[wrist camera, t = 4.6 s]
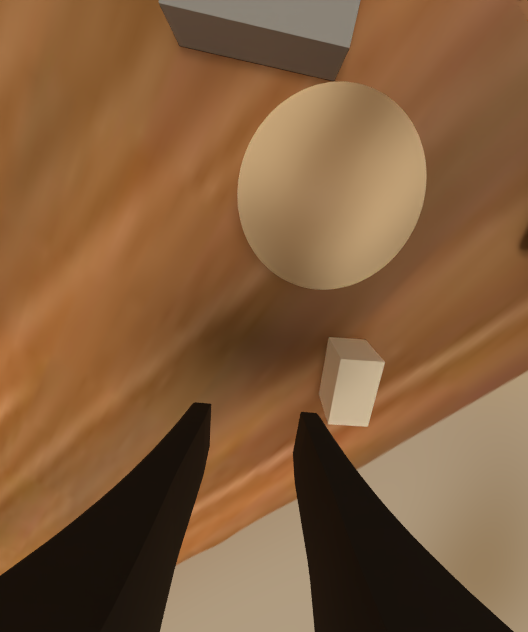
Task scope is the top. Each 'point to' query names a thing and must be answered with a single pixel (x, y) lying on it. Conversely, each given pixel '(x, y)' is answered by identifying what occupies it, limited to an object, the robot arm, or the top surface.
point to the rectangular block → (350, 381)
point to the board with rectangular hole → (268, 31)
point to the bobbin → (331, 185)
